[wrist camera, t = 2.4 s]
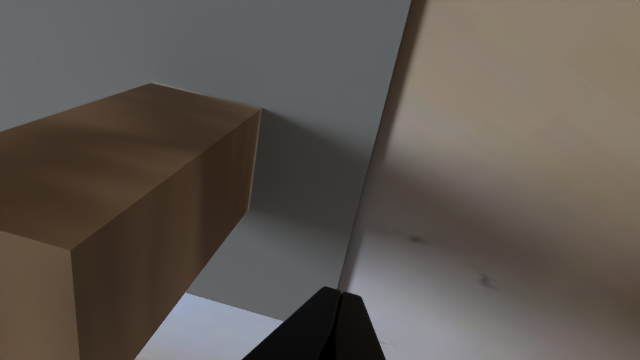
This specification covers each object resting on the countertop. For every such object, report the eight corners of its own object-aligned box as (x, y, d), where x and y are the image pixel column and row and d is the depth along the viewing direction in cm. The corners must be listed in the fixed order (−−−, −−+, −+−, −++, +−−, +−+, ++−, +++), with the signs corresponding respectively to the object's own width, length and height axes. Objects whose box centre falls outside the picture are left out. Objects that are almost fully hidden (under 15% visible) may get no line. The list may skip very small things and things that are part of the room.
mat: (419, -30, 12) (419, -30, 12) (327, 326, 18) (325, 333, 18) (-116, -136, 14) (-130, -140, 14) (-40, 220, 20) (-48, 224, 19)
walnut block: (262, 107, 14) (70, 250, 6) (249, 208, 16) (85, 424, 8) (154, 81, 15) (-160, 183, 7) (152, 182, 16) (-99, 362, 8)
